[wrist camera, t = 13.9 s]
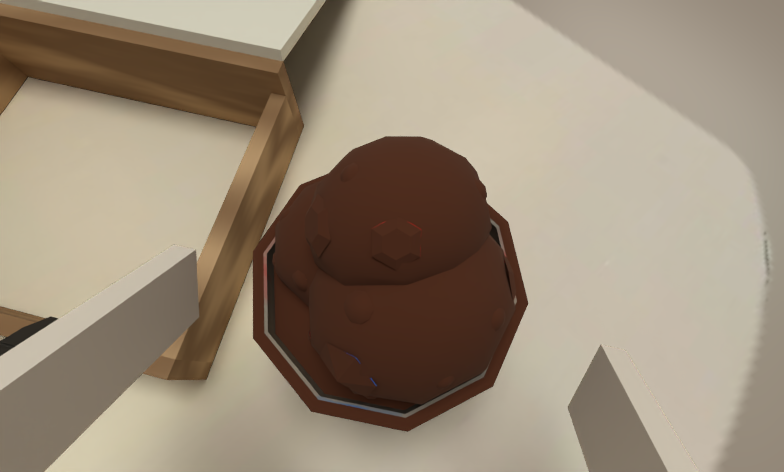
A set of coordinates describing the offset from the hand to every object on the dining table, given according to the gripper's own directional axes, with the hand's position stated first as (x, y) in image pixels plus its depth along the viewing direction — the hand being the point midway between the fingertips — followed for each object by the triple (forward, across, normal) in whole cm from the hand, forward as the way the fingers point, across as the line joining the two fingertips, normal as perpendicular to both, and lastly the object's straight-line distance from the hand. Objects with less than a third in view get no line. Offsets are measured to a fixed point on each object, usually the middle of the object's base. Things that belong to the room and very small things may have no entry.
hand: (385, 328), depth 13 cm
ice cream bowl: (+10, 0, -7) cm, 12 cm away
